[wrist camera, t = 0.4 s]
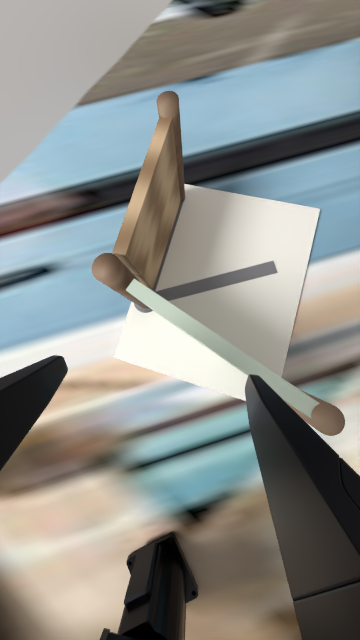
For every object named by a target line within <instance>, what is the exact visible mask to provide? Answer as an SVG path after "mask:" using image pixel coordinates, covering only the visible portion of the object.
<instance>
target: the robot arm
mask: <svg viewBox="0 0 360 640" xmlns="http://www.w3.org/2000/svg"><path fill="white" fill-rule="evenodd" d="M67 371H68V367H67V365H66V362H65V360H64V358H63V357H62V356H57V355H54V356H51V357H48V358H46V359H44V360H41V361H39V362H37V363H34V364H32V365H30V366H27V367H25V368H23V369H20V370H18V371H16V372H13V373H11V374H9V375H6V376H4V377H2V378H0V471H1V470H2V468H3V467H4V465H5V464H6V463H7V461H8V460H9V458H10V457H11V456H12V454H13V453H14V451H15V450H16V449H17V447H18V446H19V444H20V443H21V442H22V440H23V439H24V437H25V436H26V435H27V433H28V432H29V430H30V429H31V428H32V426H33V425H34V423H35V422H36V421H37V419H38V418H39V416H40V415H41V414H42V412H43V411H44V409H45V408H46V407H47V405H48V404H49V402H50V401H51V399H52V397H53V396H54V394H55V392H56V391H57V389H58V387H59V386H60V384H61V382H62V381H63V379H64V377H65V375H66V374H67ZM245 397H246V404H247V411H248V419H249V425H250V430H251V435H252V439H253V443H254V447H255V451H256V455H257V459H258V463H259V467H260V471H261V475H262V479H263V483H264V487H265V491H266V495H267V499H268V503H269V507H270V511H271V515H272V519H273V523H274V527H275V531H276V535H277V539H278V543H279V547H280V551H281V555H282V559H283V563H284V567H285V571H286V575H287V580H288V584H289V588H290V592H291V596H292V599H293V604H294V608H295V612H296V616H297V620H298V624H299V628H300V633H301V637H302V640H360V476H359V475H358V474H357V473H356V472H355V471H354V470H353V469H352V468H351V467H350V466H349V465H348V464H347V463H346V462H345V461H344V460H343V459H342V458H339V455H338V454H337V453H336V452H335V451H334V450H333V449H332V448H331V447H330V446H329V445H328V444H327V443H326V442H325V441H324V440H323V439H322V438H321V437H320V436H319V435H318V434H317V433H316V432H315V431H314V430H313V429H312V428H311V427H310V426H309V425H308V424H307V423H306V422H305V421H304V420H303V419H302V418H301V417H300V416H299V415H298V414H297V413H296V412H295V411H294V410H293V409H292V408H291V407H290V406H289V405H288V404H287V403H286V402H285V401H284V400H283V399H282V398H281V397H280V396H279V395H278V394H277V393H276V392H275V391H274V390H273V389H272V388H271V387H270V386H269V385H268V384H267V383H266V382H265V381H264V380H263V379H262V378H261V377H260V376H259V375H254V374H249V375H248V378H247V381H246V385H245ZM170 539H171V540H170ZM127 566H128V569H129V571H130V574H131V577H130V581H129V585H128V588H127V592H126V596H125V599H124V604H125V607H124V611H123V615H122V619H121V622H120V626H119V630H118V634H117V633H113V632H110V629H106V628H104V630H103V632H102V635H101V638H100V640H185V620H186V603H187V602H189V601H191V600H193V599H195V598H196V597H197V596H198V587H197V584H196V582H195V580H194V577H193V575H192V573H191V571H190V568H189V566H188V564H187V562H186V559H185V557H184V555H183V553H182V550H181V548H180V546H179V544H178V542H177V539H176V537H175V535H174V534H172V533H170V534H168V535H166V536H164V537H162V538H160V539H158V540H157V541H155V542H153V543H151V544H149V545H147V546H145V547H143V548H141V549H140V550H138V551H136V552H134V553H132V554H130V555H129V556H128V559H127Z"/></svg>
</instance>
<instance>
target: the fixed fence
mask: <svg viewBox="0 0 360 640" xmlns="http://www.w3.org/2000/svg"><path fill="white" fill-rule="evenodd" d="M157 107H158V114H159V120H158V123H157V126H156V129H155V132H154V135H153V137H152V140H151V143H150V146H149V149H148V152H147V155H146V157H145V160H144V163H143V166H142V169H141V172H140V175H139V178H138V180H137V183H136V186H135V189H134V192H133V195H132V198H131V200H130V203H129V206H128V209H127V212H126V215H125V218H124V221H123V223H122V226H121V229H120V232H119V235H118V238H117V241H116V243H115V246H114V249H113V252H112V253H113V254H112V253H104V254H101V255H99V256H98V257H97V258H96V259H95V260H94V262H93V264H92V273H93V275H94V277H95V278H96V279H97V280H99V281H100V282H102V283H103V284H105V285H107V286H108V287H110V288H111V289H113V290H114V291H116V292H118V293H119V294H121V295H122V296H124V297H126V298H127V299H129V300H130V301H132V302H134V303H135V304H137V305H138V306H140V307H142V308H145V309H146V308H149V307H148V306H146V305H145V304H144V303H142V302H141V301H140V300H138V299H137V298H136V297H134V296H133V295H132V294H130V293H129V292H127V291H126V289H127V287H128V286H129V285H130V283H131V282H132V281H133V279H136V280H137V281H139V282H140V283H142V284H143V285H144V286H146V287H147V288H149V289H153V287H154V284H155V281H156V278H157V275H158V272H159V268H160V265H161V262H162V259H163V256H164V253H165V250H166V246H167V243H168V240H169V237H170V234H171V231H172V227H173V224H174V221H175V218H176V215H177V212H178V209H179V205H180V203H182V202H183V201H184V200H185V187H184V172H183V157H182V142H181V127H180V112H179V98H178V95H177V94H176V93H175V92H173V91H166V92H163V93H162V94H160V95H159V96H158V98H157Z"/></svg>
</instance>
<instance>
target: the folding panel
mask: <svg viewBox="0 0 360 640" xmlns="http://www.w3.org/2000/svg"><path fill="white" fill-rule="evenodd" d="M126 291H127V292H129V293H130V294H132V295H133V296H134V297H136V298H137V299H138V300H140V301H141V302H142V303H144V304H145V305H146V306H148V307H149V308H151V309H152V310H153V311H155V312H156V313H158V314H159V315H160V316H162V317H163V318H165V319H166V320H168V321H169V322H171V323H172V324H173V325H175V326H176V327H178V328H179V329H181V330H182V331H184V332H185V333H186V334H188V335H189V336H191V337H192V338H194V339H195V340H197V341H198V342H199V343H201V344H202V345H204V346H205V347H207V348H208V349H210V350H211V351H212V352H214V353H215V354H217V355H218V356H220V357H221V358H223V359H224V360H225V361H227V362H228V363H230V364H231V365H233V366H234V367H236V368H237V369H238V370H240V371H241V372H243V373H244V374H246V375H247V376H248V375H249V374H254V375H259V376H260V377H261V378H262V379H263V380H264V381H265V382H266V383H267V384H268V385H269V386H270V387H271V388H272V389H273V390H274V391H275V392H276V393H277V394H278V395H279V396H280V397H281V398H282V399H283V400H284V401H285V402H286V403H287V404H288V405H289V406H290V407H291V408H292V409H293V410H294V411H295V412H296V413H297V414H298V415H299V416H300V417H301V418H302V419H303V420H305V421H306V422H307V423H309V424H310V425H311V426H313V427H314V428H316V429H317V430H318V431H320V432H321V433H323V434H325V435H329V436H333V435H337V434H339V433H340V432H341V431H342V430H343V428H344V425H345V419H344V415H343V413H342V412H341V411H340V410H339V409H338V408H337V407H335V406H333V405H331V404H329V403H327V402H325V401H323V400H321V399H318V398H316V397H314V396H312V395H310V394H308V393H306V392H303V391H301V390H299V389H298V388H296V387H295V386H293V385H292V384H290V383H289V382H287V381H286V380H284V379H283V378H281V377H280V376H278V375H277V374H275V373H274V372H272V371H271V370H269V369H268V368H266V367H265V366H263V365H262V364H261V363H259V362H258V361H256V360H255V359H253V358H252V357H250V356H249V355H247V354H246V353H244V352H243V351H241V350H240V349H238V348H237V347H235V346H234V345H232V344H231V343H229V342H228V341H226V340H225V339H223V338H222V337H220V336H219V335H217V334H216V333H214V332H213V331H211V330H210V329H208V328H207V327H205V326H204V325H203V324H201V323H200V322H198V321H197V320H195V319H194V318H192V317H191V316H189V315H188V314H186V313H185V312H183V311H182V310H180V309H179V308H177V307H176V306H174V305H173V304H171V303H170V302H168V301H167V300H165V299H164V298H162V297H161V296H159V295H158V294H156V293H155V292H153V291H152V290H150V289H149V288H147V287H146V286H144V285H143V284H142V283H140V282H139V281H137V280H136V279H133V281H132V282H131V283H130V285H129V286H128V287H127V289H126Z"/></svg>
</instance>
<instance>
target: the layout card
mask: <svg viewBox="0 0 360 640" xmlns="http://www.w3.org/2000/svg"><path fill="white" fill-rule="evenodd" d="M184 187H185V200H184V201H183V202H182V203H180V205H179V209H178V212H177V215H176V218H175V221H174V224H173V227H172V231H171V234H170V237H169V240H168V243H167V246H166V250H165V253H164V256H163V259H162V262H161V265H160V268H159V272H158V275H157V278H156V281H155V284H154V287H153V289H150V290H152V291H153V292H155V293H156V294H158V295H159V296H161V297H162V298H164V299H165V300H167V301H168V302H170V303H171V304H173V305H174V306H176V307H177V308H179V309H180V310H182V311H183V312H185V313H186V314H188V315H189V316H191V317H192V318H194V319H195V320H197V321H198V322H200V323H201V324H203V325H204V326H205V327H207V328H208V329H210V330H211V331H213V332H214V333H216V334H217V335H219V336H220V337H222V338H223V339H225V340H226V341H228V342H229V343H231V344H232V345H234V346H235V347H237V348H238V349H240V350H241V351H243V352H244V353H246V354H247V355H249V356H250V357H252V358H253V359H255V360H256V361H258V362H259V363H261V364H262V365H263V366H265V367H266V368H268V369H269V370H271V371H272V372H274V373H275V374H277V375H278V376H280V377H281V378H282V374H283V370H284V365H285V361H286V356H287V352H288V348H289V343H290V339H291V335H292V330H293V326H294V321H295V317H296V313H297V308H298V304H299V300H300V295H301V291H302V286H303V282H304V278H305V273H306V269H307V265H308V260H309V256H310V252H311V247H312V243H313V238H314V234H315V230H316V225H317V221H318V217H319V212H320V209H317V208H312V207H307V206H301V205H296V204H290V203H285V202H279V201H274V200H269V199H263V198H258V197H252V196H247V195H241V194H236V193H231V192H225V191H220V190H214V189H209V188H203V187H198V186H193V185H187V184H184ZM113 358H116V359H119V360H122V361H125V362H128V363H131V364H134V365H137V366H140V367H144V368H147V369H150V370H153V371H156V372H159V373H162V374H165V375H168V376H171V377H174V378H177V379H180V380H183V381H186V382H189V383H192V384H196V385H199V386H202V387H205V388H208V389H211V390H214V391H217V392H220V393H223V394H226V395H229V396H232V397H235V398H238V399H241V400H245V401H246V397H245V385H246V381H247V378H248V376H247V375H246V374H244V373H243V372H241V371H240V370H238V369H237V368H236V367H234V366H233V365H231V364H230V363H228V362H227V361H225V360H224V359H223V358H221V357H220V356H218V355H217V354H215V353H214V352H212V351H211V350H210V349H208V348H207V347H205V346H204V345H202V344H201V343H199V342H198V341H197V340H195V339H194V338H192V337H191V336H189V335H188V334H186V333H185V332H184V331H182V330H181V329H179V328H178V327H176V326H175V325H173V324H172V323H171V322H169V321H168V320H166V319H165V318H163V317H162V316H160V315H159V314H158V313H156V312H155V311H153V310H152V309H151V308H146V309H145V308H142V307H140V306H138V305H137V304H135V303H134V302H131V305H130V308H129V311H128V314H127V317H126V320H125V323H124V326H123V329H122V333H121V336H120V339H119V342H118V345H117V348H116V351H115V354H114V357H113Z"/></svg>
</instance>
